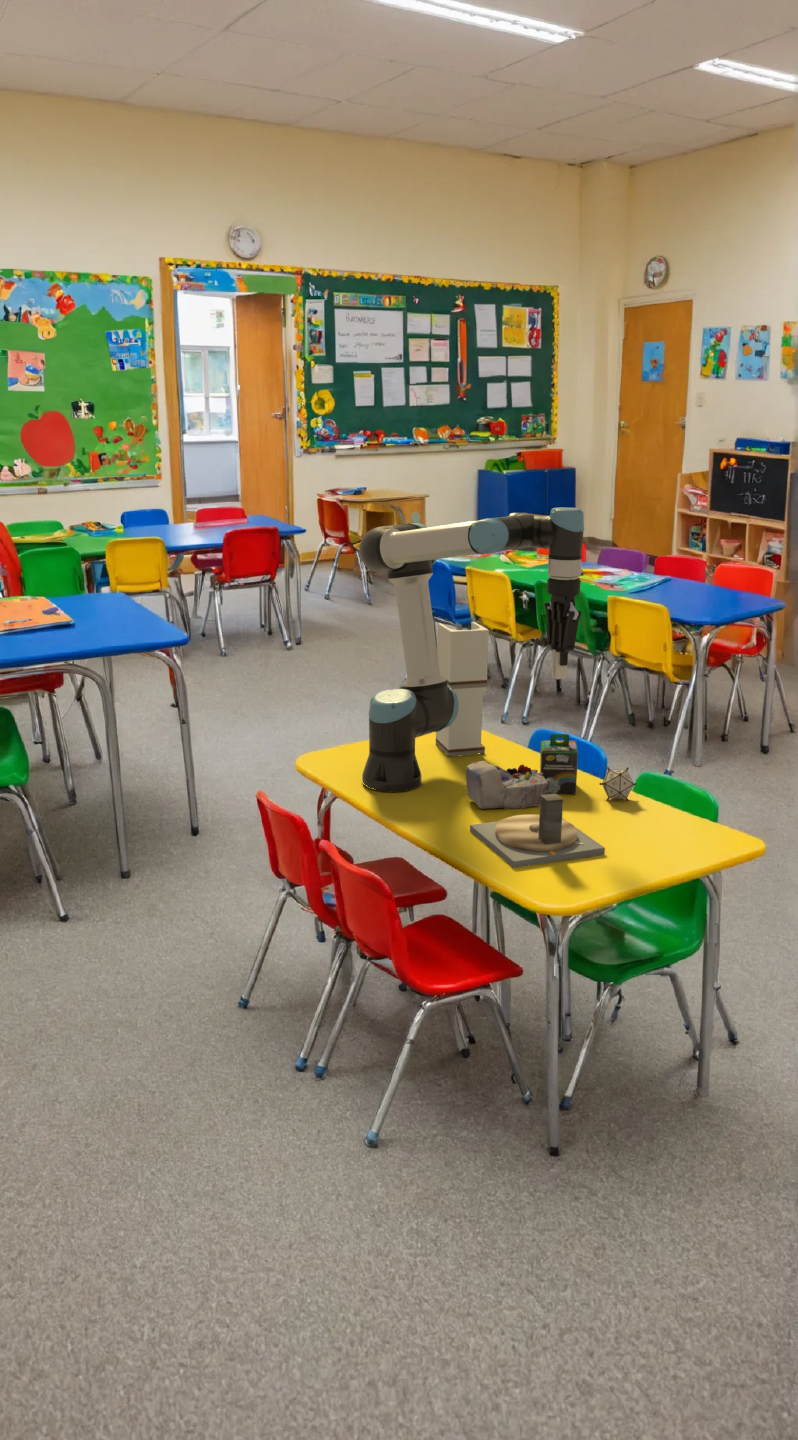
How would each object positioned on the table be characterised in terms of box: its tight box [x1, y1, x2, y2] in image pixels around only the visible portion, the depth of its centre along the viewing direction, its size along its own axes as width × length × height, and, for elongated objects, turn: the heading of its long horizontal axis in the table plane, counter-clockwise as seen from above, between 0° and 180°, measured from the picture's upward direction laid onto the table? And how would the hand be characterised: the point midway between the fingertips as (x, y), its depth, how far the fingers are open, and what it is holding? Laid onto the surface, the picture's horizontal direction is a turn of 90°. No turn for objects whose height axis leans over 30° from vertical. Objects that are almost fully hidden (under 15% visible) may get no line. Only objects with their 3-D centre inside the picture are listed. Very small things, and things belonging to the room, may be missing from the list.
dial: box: [495, 793, 578, 851], centre depth 247 cm, size 18×18×12 cm
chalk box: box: [539, 733, 579, 796], centre depth 281 cm, size 9×9×15 cm
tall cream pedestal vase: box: [435, 621, 490, 757], centre depth 309 cm, size 11×11×35 cm
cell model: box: [465, 760, 551, 810], centre depth 272 cm, size 13×11×20 cm
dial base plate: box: [469, 817, 606, 869], centre depth 249 cm, size 22×22×2 cm
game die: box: [599, 766, 637, 802], centre depth 275 cm, size 9×8×10 cm
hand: (558, 677), depth 261 cm, fingers closed
